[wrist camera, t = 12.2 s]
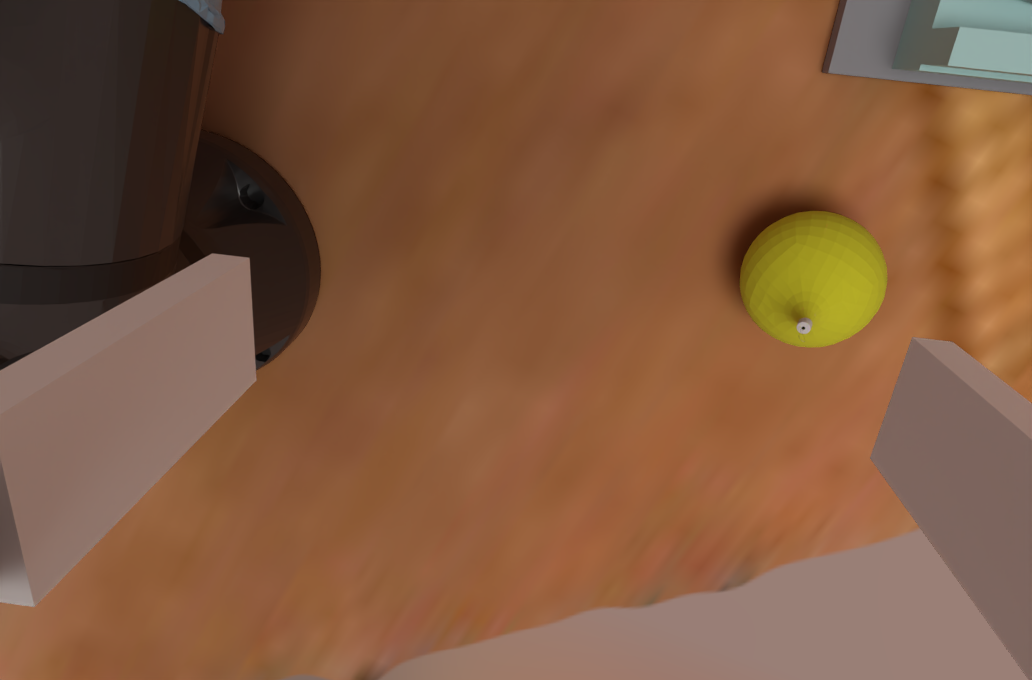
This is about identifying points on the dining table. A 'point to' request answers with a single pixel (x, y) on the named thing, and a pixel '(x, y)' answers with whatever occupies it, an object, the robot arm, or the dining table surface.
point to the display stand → (935, 42)
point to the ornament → (813, 279)
